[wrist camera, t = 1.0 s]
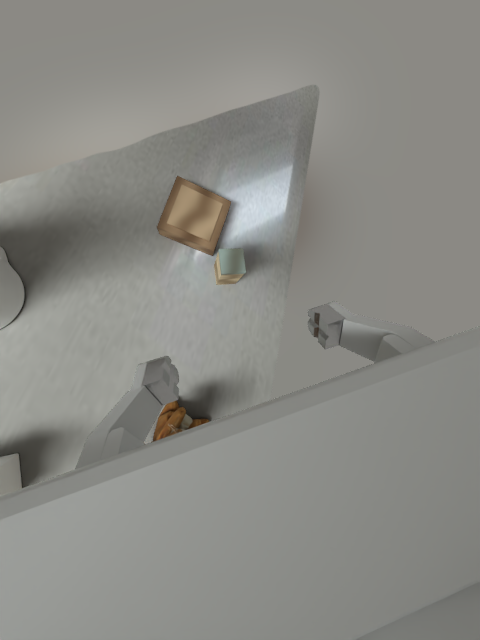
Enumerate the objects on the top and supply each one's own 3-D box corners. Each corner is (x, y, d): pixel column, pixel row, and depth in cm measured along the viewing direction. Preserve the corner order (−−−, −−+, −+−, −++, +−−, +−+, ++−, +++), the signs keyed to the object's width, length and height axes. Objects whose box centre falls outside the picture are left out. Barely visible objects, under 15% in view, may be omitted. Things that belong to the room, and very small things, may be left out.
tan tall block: (216, 285, 43) (221, 273, 34) (213, 265, 43) (218, 248, 34) (235, 283, 44) (245, 272, 35) (233, 264, 44) (243, 248, 35)
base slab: (159, 234, 41) (156, 226, 37) (178, 186, 42) (177, 174, 39) (212, 256, 43) (214, 250, 40) (228, 209, 44) (231, 200, 41)
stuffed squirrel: (212, 418, 42) (220, 458, 29) (165, 474, 39) (150, 546, 26) (178, 389, 40) (171, 418, 27) (127, 445, 38) (92, 506, 25)
